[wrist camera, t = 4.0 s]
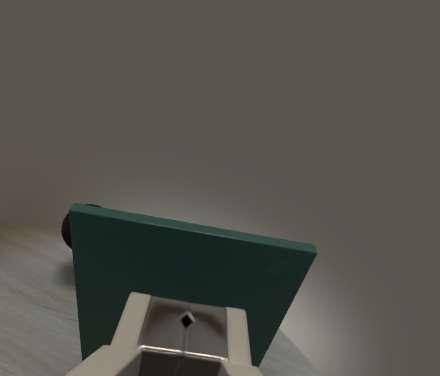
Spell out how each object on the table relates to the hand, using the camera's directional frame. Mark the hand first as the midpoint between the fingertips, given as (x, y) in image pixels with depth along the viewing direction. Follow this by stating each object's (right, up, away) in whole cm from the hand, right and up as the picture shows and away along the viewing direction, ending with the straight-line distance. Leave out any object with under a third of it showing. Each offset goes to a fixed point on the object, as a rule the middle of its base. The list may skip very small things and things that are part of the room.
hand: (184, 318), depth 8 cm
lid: (-2, -4, +10) cm, 11 cm away
